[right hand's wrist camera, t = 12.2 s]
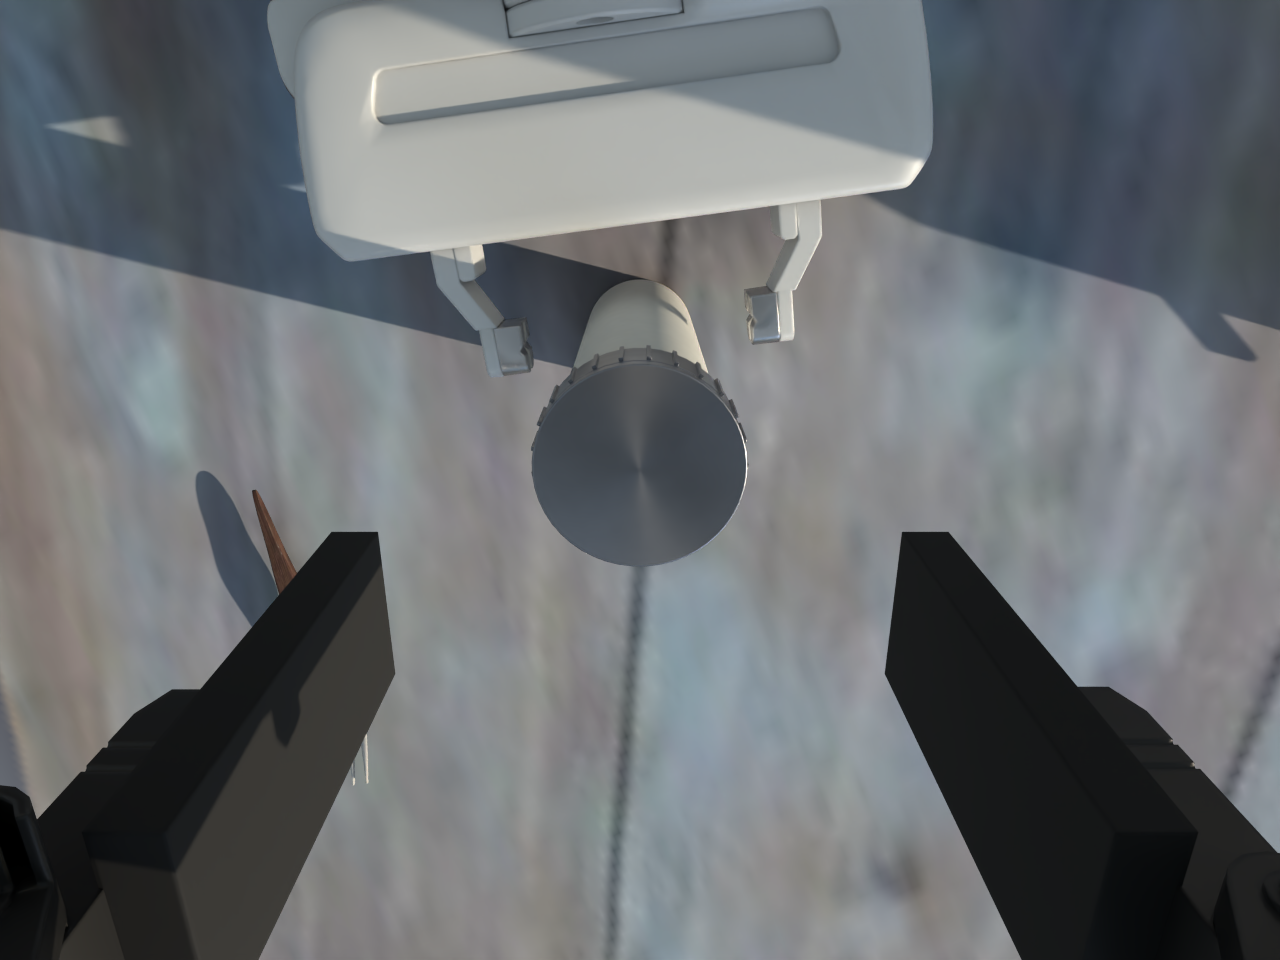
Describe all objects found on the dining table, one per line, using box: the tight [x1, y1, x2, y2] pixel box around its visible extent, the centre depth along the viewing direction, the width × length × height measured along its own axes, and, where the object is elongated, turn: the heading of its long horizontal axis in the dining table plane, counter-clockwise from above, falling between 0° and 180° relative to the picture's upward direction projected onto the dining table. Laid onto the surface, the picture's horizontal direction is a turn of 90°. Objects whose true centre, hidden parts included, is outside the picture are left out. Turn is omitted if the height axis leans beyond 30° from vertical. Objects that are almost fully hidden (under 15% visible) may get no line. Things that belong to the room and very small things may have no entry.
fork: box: [252, 490, 368, 785], centre depth 41 cm, size 3×16×2 cm, turn 10°
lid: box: [531, 345, 748, 566], centre depth 21 cm, size 5×5×2 cm
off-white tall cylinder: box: [573, 279, 708, 373], centre depth 29 cm, size 5×5×17 cm
